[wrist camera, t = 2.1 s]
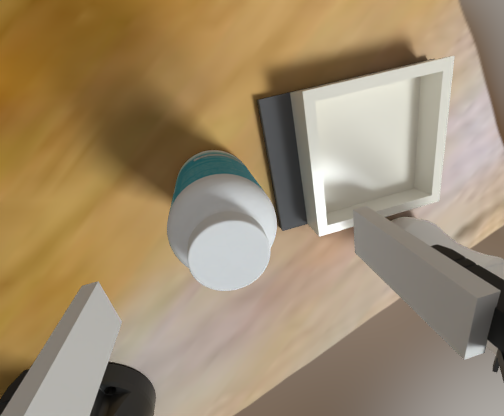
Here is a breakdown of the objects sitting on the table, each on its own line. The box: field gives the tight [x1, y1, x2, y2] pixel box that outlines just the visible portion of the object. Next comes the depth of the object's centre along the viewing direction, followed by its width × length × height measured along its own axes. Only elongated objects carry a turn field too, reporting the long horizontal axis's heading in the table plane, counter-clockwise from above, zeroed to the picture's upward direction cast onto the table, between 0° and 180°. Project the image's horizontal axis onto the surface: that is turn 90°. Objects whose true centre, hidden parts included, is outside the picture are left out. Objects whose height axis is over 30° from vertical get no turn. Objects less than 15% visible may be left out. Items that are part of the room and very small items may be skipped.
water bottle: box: [391, 217, 504, 355], centre depth 23 cm, size 7×7×25 cm
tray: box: [290, 56, 454, 237], centre depth 26 cm, size 14×14×3 cm
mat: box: [257, 59, 433, 231], centre depth 28 cm, size 18×14×1 cm
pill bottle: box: [167, 150, 277, 291], centre depth 20 cm, size 8×7×14 cm
